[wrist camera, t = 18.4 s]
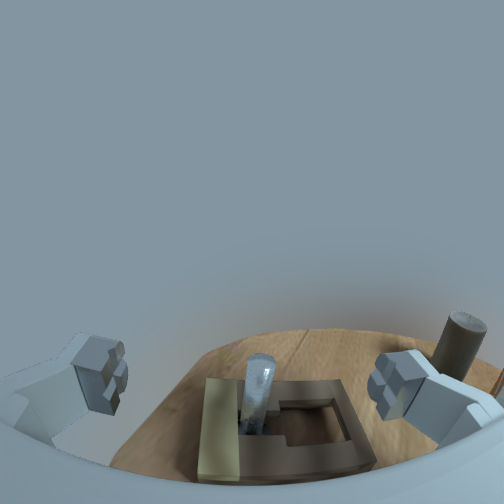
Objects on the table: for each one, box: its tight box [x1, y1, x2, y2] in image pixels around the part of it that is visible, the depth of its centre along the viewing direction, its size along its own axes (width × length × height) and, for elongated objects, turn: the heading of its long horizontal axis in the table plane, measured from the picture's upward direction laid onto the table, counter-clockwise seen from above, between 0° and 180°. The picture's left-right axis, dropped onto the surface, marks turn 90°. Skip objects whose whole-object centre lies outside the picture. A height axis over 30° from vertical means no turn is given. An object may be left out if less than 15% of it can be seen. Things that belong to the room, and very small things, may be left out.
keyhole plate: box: [197, 378, 377, 486], centre depth 32 cm, size 21×17×4 cm
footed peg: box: [238, 353, 276, 435], centre depth 30 cm, size 6×6×15 cm
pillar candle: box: [429, 311, 487, 382], centre depth 43 cm, size 10×10×15 cm
